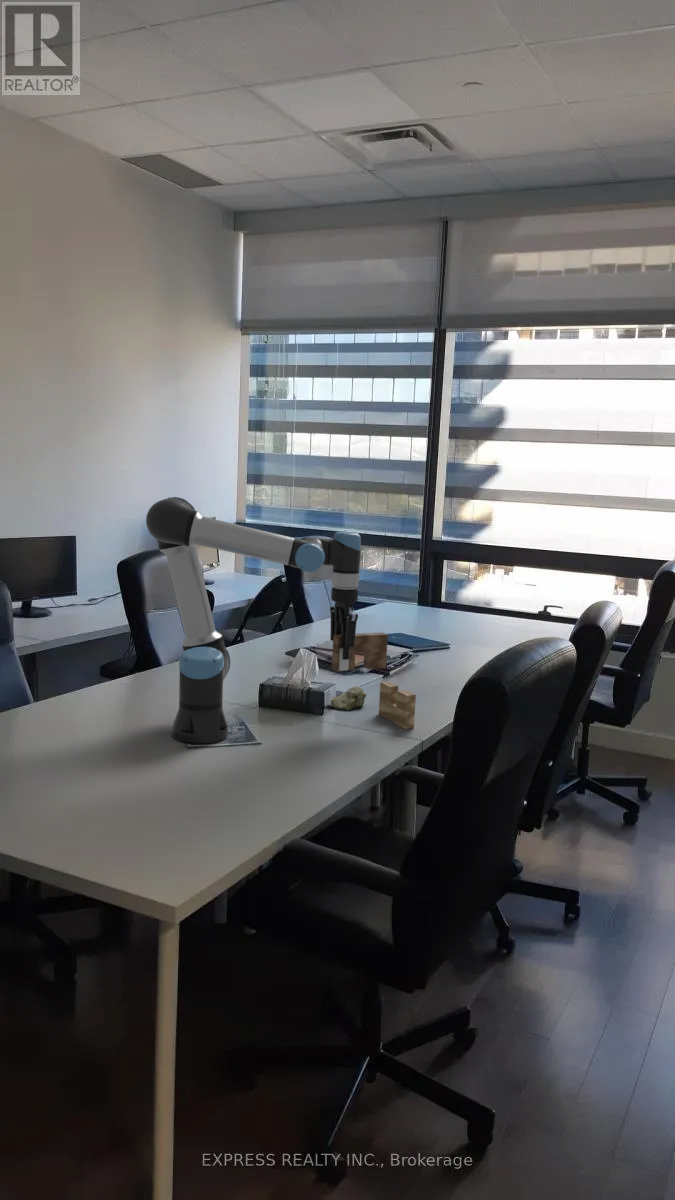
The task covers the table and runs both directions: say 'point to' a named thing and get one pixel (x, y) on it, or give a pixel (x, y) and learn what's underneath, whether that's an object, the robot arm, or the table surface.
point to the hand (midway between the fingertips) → (340, 668)
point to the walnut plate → (363, 650)
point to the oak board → (397, 705)
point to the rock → (349, 699)
